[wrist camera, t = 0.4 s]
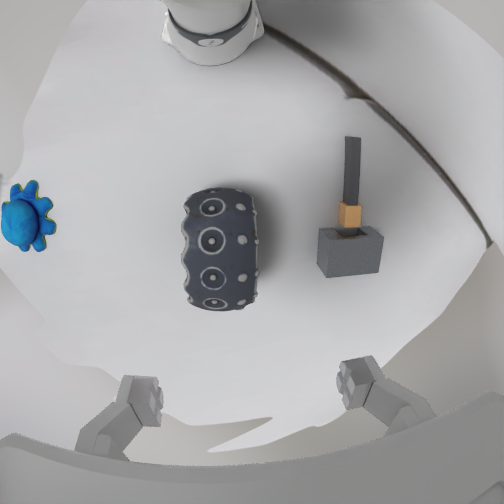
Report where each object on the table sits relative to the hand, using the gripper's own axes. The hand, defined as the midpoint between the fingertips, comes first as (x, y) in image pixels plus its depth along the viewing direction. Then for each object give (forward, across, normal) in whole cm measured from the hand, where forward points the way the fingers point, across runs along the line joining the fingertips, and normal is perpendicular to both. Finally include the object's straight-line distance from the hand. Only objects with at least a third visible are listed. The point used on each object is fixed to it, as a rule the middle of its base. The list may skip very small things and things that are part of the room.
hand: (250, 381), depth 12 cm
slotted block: (+45, -24, +14) cm, 53 cm away
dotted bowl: (+46, +2, +9) cm, 47 cm away
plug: (+46, -24, 0) cm, 52 cm away
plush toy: (+46, +47, +2) cm, 66 cm away
